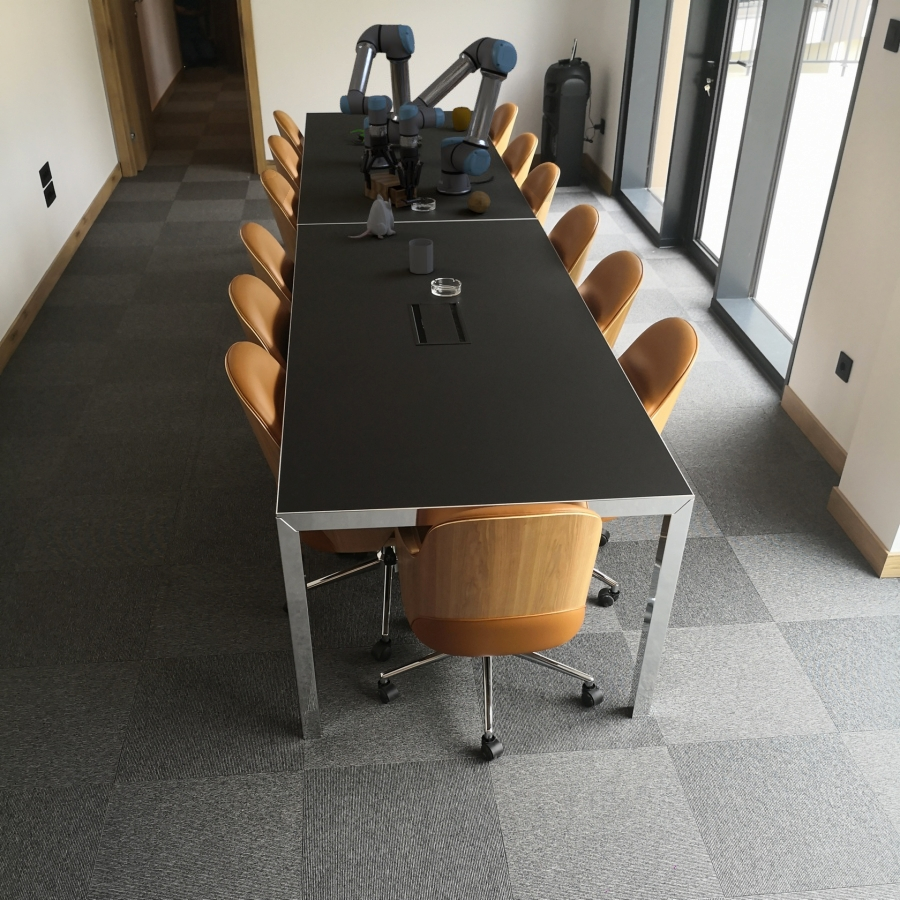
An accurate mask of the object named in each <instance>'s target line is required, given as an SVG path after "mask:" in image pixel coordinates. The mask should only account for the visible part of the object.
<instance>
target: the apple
mask: <svg viewBox="0 0 900 900" xmlns="http://www.w3.org/2000/svg"><path fill="white" fill-rule="evenodd" d="M471 119H472V111H471V108H469V107H467V106H462V105H461V106H457V107H454V108H452V111H451V121H452V125H453V128H454V129H455V131H457V132H463V131H466V130H467V129H469V127H470V123H471Z"/></svg>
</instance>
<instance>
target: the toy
mask: <svg viewBox="0 0 900 900" xmlns="http://www.w3.org/2000/svg"><path fill="white" fill-rule="evenodd" d="M394 227H395V218H394V214H393V209H392V205H391V201H390V198H389V203H388V202H387V201H383V198H382V197H381V196H380V195H379V194H378V195H377V200H373V203H372V205H371V208H370V210H369V215H368V219H367V221H366V231H364V232H363V233H361V234H359V235H355V236H351V235H348V236H347V238H351V239H361V238H363V237H365V236H367V235H368V236H373V235H377V238H378V239H380V240H381V239H384V236H385V235H387V236H391V235H395V234H396V231H395V230H393V229H394Z"/></svg>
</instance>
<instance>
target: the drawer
mask: <svg viewBox="0 0 900 900" xmlns="http://www.w3.org/2000/svg"><path fill="white" fill-rule="evenodd" d="M417 195H418V194H417V187H416V188H415V194H414V195H413V199H411V200H407V196H405V188H403V187H401V185H397V186H392V187H388V198H390V201H391V203H393V205H395V208H402V207H406V206H411V205H413V204H412V203H416V204H417V203H421V202H422V199H421V197H418V196H417Z"/></svg>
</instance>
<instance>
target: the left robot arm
mask: <svg viewBox="0 0 900 900" xmlns="http://www.w3.org/2000/svg"><path fill="white" fill-rule="evenodd" d="M415 44H416V43H415V35H414V32H413V29H412V27H411V26H410V25H407V24H382V23H381V24H380V23H379V24H378V23H377V24H376V23H375V24H373V25H371V26H369V27H367V28H366V29H365V30H364V31H362V34H361V35H360V36H359V38H358V39H357V42H356V44H355V54H356V55H355V59H354V63H353V69H352V73H351V77H350V82H349V85H348V90H347V94H345V95H341V96H340V99H339V110H340V113H342V114H344V115H350V116H353V115H356V116H360V115H361V116H366V117H365V118H364V119H363V129H362V130H364V142H365V144H364V149H363V155H361V157H360V158H361V163H360V169H359V172H360V173H362V174H363V175H364V176H363V177H364V182H365V181H366V188H368V189H371V173H370V172H371V170H381V169H387V168H388V173H390V174H392V175H395V176H396V171H397V169H396V168H395V165H398V164H399V161H400V158H401V157H399V158H397V156H396V153H395V146H394V145H400V131H399V108H400V107H401V106H403V104H404V103H405V102H408V101H412V97H411V96H412V95H411V82H410V81H411V80H410V79H411V78H410V64H409V63H410V62H409V61H410V59H411V58H412V55H413V54H414V53H415V49H416V47H415V46H416V45H415ZM377 54H385V58H386V60H387V61H388V62H389V70H390V83H391V97H392V98H391V97H390V96H389V95H387V94H382V95H381V94H380V95H379V94H377V95H370V96H369V95H366V93H367V88H368V84H369V79H370V75H371V71H372V65H373V61H374V59H376V57H377ZM392 110H393V112H392V113H391V111H392ZM390 113H391V114H390ZM389 114H390V117H389V116H388V115H389ZM418 132H419V130H418ZM420 155H421V153H418V157H419V156H420Z"/></svg>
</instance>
